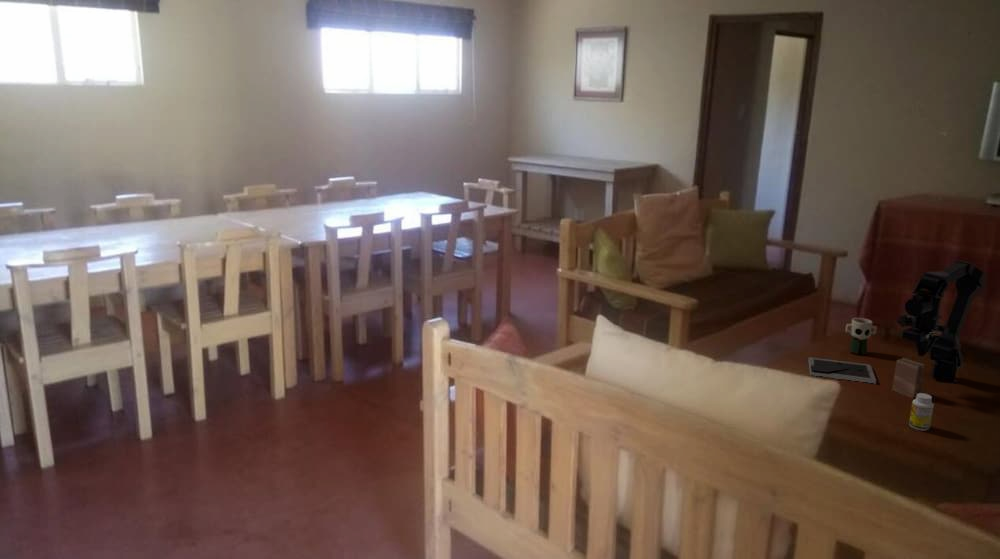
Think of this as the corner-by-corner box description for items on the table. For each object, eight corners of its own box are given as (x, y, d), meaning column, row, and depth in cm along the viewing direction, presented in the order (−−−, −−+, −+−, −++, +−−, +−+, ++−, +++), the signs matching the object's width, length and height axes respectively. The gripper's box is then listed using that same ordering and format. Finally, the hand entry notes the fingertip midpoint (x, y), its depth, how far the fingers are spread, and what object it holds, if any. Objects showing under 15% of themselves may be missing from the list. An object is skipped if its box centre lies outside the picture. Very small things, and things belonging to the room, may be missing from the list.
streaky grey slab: (898, 388, 250) (903, 357, 247) (919, 395, 245) (924, 364, 242) (891, 390, 248) (896, 360, 245) (912, 398, 242) (917, 366, 240)
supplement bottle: (910, 421, 225) (916, 390, 223) (931, 426, 222) (937, 395, 219) (906, 427, 221) (911, 395, 219) (927, 433, 218) (933, 401, 215)
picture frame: (810, 377, 260) (875, 386, 254) (811, 370, 260) (876, 378, 253) (808, 362, 275) (869, 370, 268) (809, 355, 274) (870, 362, 267)
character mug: (844, 354, 281) (849, 322, 278) (840, 348, 288) (844, 316, 285) (875, 357, 279) (880, 324, 276) (870, 350, 286) (875, 318, 283)
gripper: (919, 301, 254) (912, 343, 258) (889, 309, 244) (882, 353, 248) (953, 309, 245) (945, 353, 249) (923, 318, 235) (915, 364, 239)
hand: (921, 355), depth 247 cm, fingers closed
